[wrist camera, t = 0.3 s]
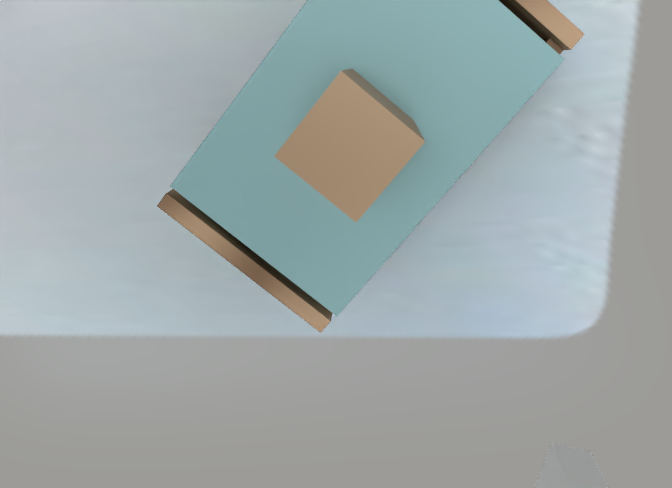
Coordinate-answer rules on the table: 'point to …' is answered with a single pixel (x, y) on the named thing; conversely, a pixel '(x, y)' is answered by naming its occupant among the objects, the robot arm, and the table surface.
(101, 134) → the table surface
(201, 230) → the box
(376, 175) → the lid
